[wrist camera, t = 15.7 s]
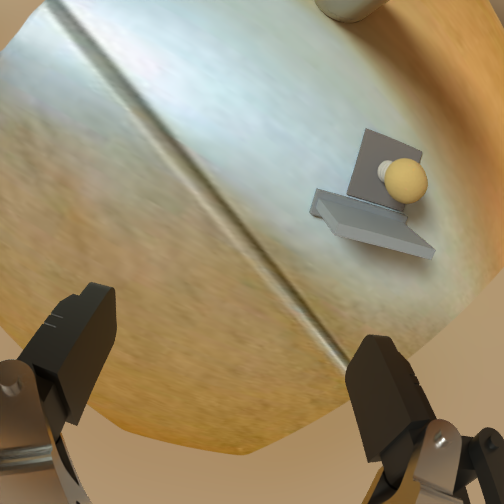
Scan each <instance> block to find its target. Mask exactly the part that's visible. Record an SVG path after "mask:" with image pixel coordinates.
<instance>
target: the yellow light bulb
mask: <svg viewBox="0 0 504 504" xmlns="http://www.w3.org/2000/svg"><path fill="white" fill-rule="evenodd" d="M378 177H379V179H380V180H381V181H382V182H384V183H385V187H386V189H387V191H388V193H389V194H390V196H391V197H392V198H393V199H395V200H396V201H398V202H400V203H404V204H410V203H414V202H416V201H418V200H419V199H420V198H421V197H422V196H423V195H424V194H425V192H426V190H427V187H428V181H427V176H426V173H425V171H424V169H423V168H422V166H421V165H420V164H419V163H417V162H416V161H414V160H412V159H408V158H402V159H398V160H395V161H394V162H392V161H389V160H387V161H384V162H382V163H381V164H380V165H379V167H378Z"/></svg>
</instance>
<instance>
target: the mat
mask: <svg viewBox="0 0 504 504" xmlns="http://www.w3.org/2000/svg"><path fill="white" fill-rule="evenodd" d="M421 155H422V151H420V150H418V149H415V148H413V147H411V146H409V145H406V144H404V143H402V142H399V141H397V140H395V139H392V138H390V137H387V136H385V135H382V134H380V133H377V132H374V131H372V130H369V129H365V133H364V136H363V140H362V144H361V147H360V151H359V154H358V157H357V161H356V164H355V168H354V171H353V174H352V177H351V181H350V184H349V187H348V190H347V193H346V194H348V195H351V196H355V197H358V198H362V199H365V200H368V201H371V202H375V203H378V204H381V205H384V206H387V207H390V208H393V209H397V210H400V211H403V210H404V207H405V204H404V203H400V202H398V201H396V200H395V199H393V198H392V197H391V196H390V194H389V193H388V191H387V189H386V187H385V183H384V182H382V181H381V180H380V179H379V177H378V167H379V165H380V164H381V163H382V162H384V161H387V160H389V161H392V162H394V161H395V160H398V159H402V158H408V159H412V160H414V161H416V162H417V163H419V162H420V158H421Z"/></svg>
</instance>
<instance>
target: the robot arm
mask: <svg viewBox="0 0 504 504" xmlns="http://www.w3.org/2000/svg"><path fill="white" fill-rule="evenodd" d="M388 1H389V0H315V2H316V4H317V6H318V7H319V8H320V10H321V11H322V12H323V13H325V14H326V15H327V16H329V17H331V18H332V19H335V20H337V21H341V22H347V23H352V22H357V21H360V20H362V19H363V18H365V17H366V16H368V15H369V14H370V13H372V12H373V11H375V10H376V9H378V8H379V7H380V6H382V5H383V4H385V3H386V2H388ZM116 330H117V323H116V298H115V289H114V288H113V287H109V286H105V285H101V284H97V283H93V282H90V283H89V284H88V285H87V286H86V288H85V289H84V290H83V292H82V293H81V294H80V295H79V296H78V295H75V294H72V295H70V296H69V297H67V298H65V299H64V300H62V301H60V302H59V303H58V305H57V306H56V307H55V308H54V310H53V311H52V312H51V315H49V316H48V317H47V319H46V320H45V321H44V324H42V325H41V326H40V328H39V329H38V330H37V332H36V333H35V335H34V336H33V337H32V339H31V340H30V341H29V343H28V344H27V346H26V347H25V348H24V350H23V351H22V353H21V354H20V356H19V357H18V358H17V359H16V360H14V359H11V360H10V359H9V360H4V361H1V362H0V504H92V502H91V501H90V499H89V497H88V496H87V494H86V492H85V490H84V489H83V487H82V485H81V482H80V480H79V477H78V476H77V473H76V470H75V468H74V465H73V463H72V460H71V458H70V455H69V452H68V450H67V447H66V444H65V441H64V438H63V436H62V433H61V431H62V428H63V426H64V424H65V421H66V422H68V423H71V424H73V425H76V426H77V425H78V423H79V420H80V418H81V415H82V413H83V411H84V408H85V406H86V404H87V401H88V399H89V397H90V394H91V392H92V390H93V387H94V385H95V383H96V381H97V378H98V376H99V374H100V372H101V370H102V367H103V365H104V363H105V361H106V359H107V357H108V355H109V352H110V350H111V348H112V346H113V344H114V341H115V337H116ZM345 383H346V387H347V390H348V393H349V397H350V400H351V403H352V407H353V410H354V414H355V417H356V421H357V424H358V428H359V431H360V435H361V439H362V442H363V446H364V450H365V453H366V457H367V461H368V463H370V462H378V461H382V464H383V466H382V467H381V468H380V469H379V470H378V472H377V474H376V476H375V478H374V480H373V482H372V484H371V486H370V488H369V490H368V492H367V494H366V496H365V498H364V500H363V502H362V504H470V500H469V497H468V494H467V490H466V487H465V486H466V485H468V484H469V483H471V482H472V481H473V480H475V479H476V478H477V477H478V480H479V483H480V486H481V489H482V493H483V496H484V499H485V502H486V504H504V439H503V438H502V436H501V435H500V434H499V432H497V431H496V430H495V429H493V428H488V427H487V428H484V429H482V430H481V431H480V432H479V433H478V434H477V435H476V436H475V437H468V436H461V435H460V433H459V432H458V430H457V428H456V427H455V426H454V425H453V424H451V423H450V422H448V421H446V420H443V419H437V418H436V416H435V414H434V412H433V410H432V408H431V406H430V404H429V401H428V399H427V397H426V395H425V393H424V391H423V389H422V387H421V386H419V381H418V379H417V377H416V376H415V373H414V371H413V369H412V367H411V365H410V363H409V362H408V361H407V360H406V359H405V358H404V357H403V356H402V355H401V353H400V352H398V351H397V349H396V347H395V345H394V343H393V341H392V339H391V338H390V337H388V336H380V335H367V336H366V337H365V338H364V339H363V341H362V343H361V345H360V346H359V348H358V350H357V352H356V353H355V355H354V357H353V358H352V360H351V362H350V363H349V365H348V367H347V370H346V374H345Z"/></svg>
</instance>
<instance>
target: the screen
mask: <svg viewBox="0 0 504 504" xmlns="http://www.w3.org/2000/svg"><path fill="white" fill-rule="evenodd" d="M309 213H310V214H311V215H315V216H320V217H322V218H323V219H324V221H325V222H326V224H327V225H328V227H329V228H330V230H331V231H332V233H333V234H334V235H336V236H340V237H344V238H348V239H352V240H356V241H361V242H365V243H369V244H373V245H376V246H380V247H384V248H388V249H392V250H396V251H400V252H404V253H407V254H411V255H415V256H419V257H422V258H426V259H430V260H432V257H433V255H434V253H435V251H436V250H435V249H434V248H433V247H432V246H431V245H429V244H428V243H427V242H426V241H425V240H424V239H422V238H421V237H420V236H419V235H418V234H417V233H415V232H414V231H413V230H412V229H411V228H409V227H408V226H407V225H406V224H405V223H406V221H407V218H408V217H407V216H406V215H404V214H401V213H398V212H395V211H392V210H388V209H385V208H382V207H379V206H376V205H372V204H369V203H366V202H362V201H359V200H356V199H352V198H349V197H345V196H342V195H338V194H335V193H331V192H327V191H324V190H320V189H316V192H315V195H314V199H313V202H312V205H311V208H310V212H309Z"/></svg>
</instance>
